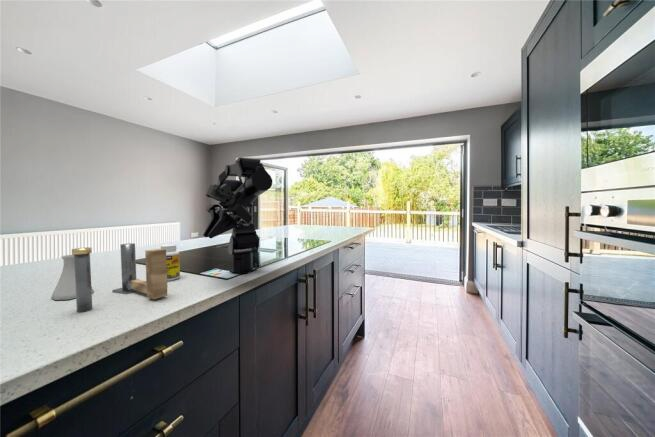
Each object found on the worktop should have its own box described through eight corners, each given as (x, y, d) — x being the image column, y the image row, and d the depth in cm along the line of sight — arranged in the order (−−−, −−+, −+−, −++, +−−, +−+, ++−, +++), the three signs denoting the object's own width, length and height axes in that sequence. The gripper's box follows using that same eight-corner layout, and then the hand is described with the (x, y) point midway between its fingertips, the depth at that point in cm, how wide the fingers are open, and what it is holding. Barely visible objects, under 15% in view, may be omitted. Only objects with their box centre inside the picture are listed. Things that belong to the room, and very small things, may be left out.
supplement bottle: (160, 282, 73) (159, 247, 73) (156, 278, 77) (155, 245, 77) (182, 278, 77) (181, 245, 77) (177, 275, 81) (176, 243, 81)
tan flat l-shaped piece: (127, 291, 65) (125, 247, 64) (141, 287, 67) (139, 246, 67) (154, 299, 59) (152, 251, 58) (167, 295, 61) (166, 249, 61)
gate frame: (132, 286, 70) (130, 238, 70) (155, 288, 68) (153, 239, 67) (54, 309, 55) (51, 248, 54) (81, 313, 52) (77, 250, 52)
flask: (67, 302, 59) (65, 258, 58) (43, 300, 60) (40, 257, 60) (101, 291, 66) (99, 253, 65) (78, 290, 67) (76, 252, 67)
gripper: (211, 178, 78) (171, 215, 71) (240, 171, 65) (195, 217, 58) (237, 204, 84) (202, 241, 77) (268, 203, 71) (230, 247, 64)
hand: (206, 236), depth 68 cm, fingers open, 3 cm apart
